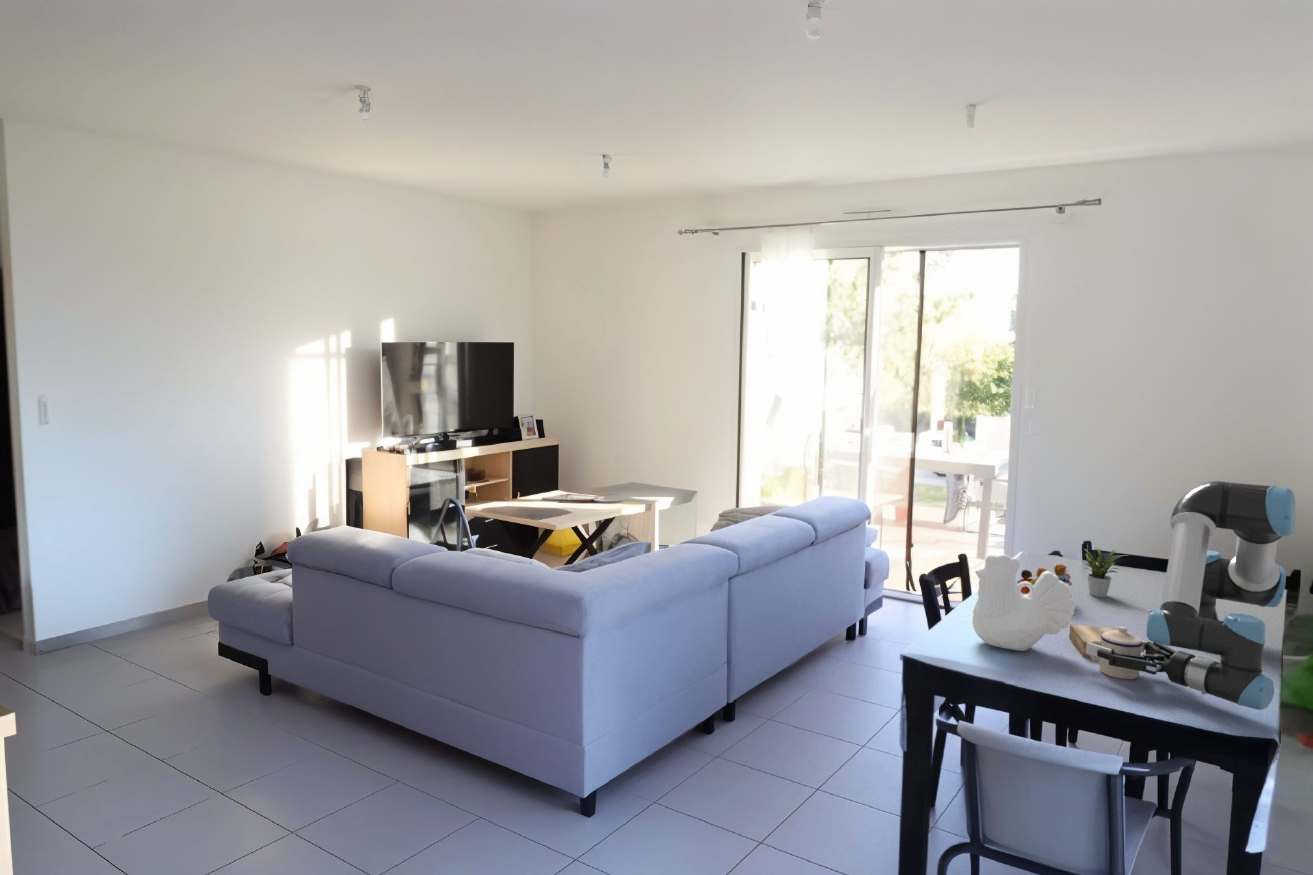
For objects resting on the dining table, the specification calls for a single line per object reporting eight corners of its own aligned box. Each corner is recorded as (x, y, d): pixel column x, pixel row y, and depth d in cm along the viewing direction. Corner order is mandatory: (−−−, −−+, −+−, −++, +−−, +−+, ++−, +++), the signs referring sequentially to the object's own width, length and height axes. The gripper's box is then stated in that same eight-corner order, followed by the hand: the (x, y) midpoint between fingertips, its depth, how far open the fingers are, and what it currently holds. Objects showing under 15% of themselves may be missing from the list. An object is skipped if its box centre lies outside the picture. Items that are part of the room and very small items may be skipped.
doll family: (1064, 599, 276) (1068, 559, 275) (1088, 607, 267) (1091, 566, 266) (1011, 603, 270) (1014, 562, 268) (1033, 612, 261) (1036, 570, 259)
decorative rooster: (968, 650, 225) (974, 557, 223) (972, 632, 240) (978, 545, 237) (1073, 666, 215) (1081, 570, 213) (1071, 647, 230) (1079, 557, 227)
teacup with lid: (1139, 670, 214) (1143, 625, 213) (1140, 682, 206) (1144, 635, 205) (1085, 661, 219) (1089, 617, 218) (1084, 672, 211) (1088, 626, 210)
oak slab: (1120, 643, 234) (1121, 628, 234) (1137, 662, 220) (1138, 647, 219) (1069, 638, 237) (1070, 624, 237) (1082, 656, 223) (1084, 641, 222)
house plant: (1128, 594, 284) (1132, 545, 283) (1125, 603, 273) (1129, 553, 271) (1080, 586, 292) (1084, 539, 290) (1075, 595, 280) (1079, 547, 279)
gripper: (1161, 697, 190) (1072, 666, 208) (1218, 677, 203) (1129, 649, 221) (1164, 664, 189) (1074, 636, 207) (1221, 647, 203) (1131, 621, 221)
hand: (1102, 643), depth 214 cm, fingers open, 13 cm apart
